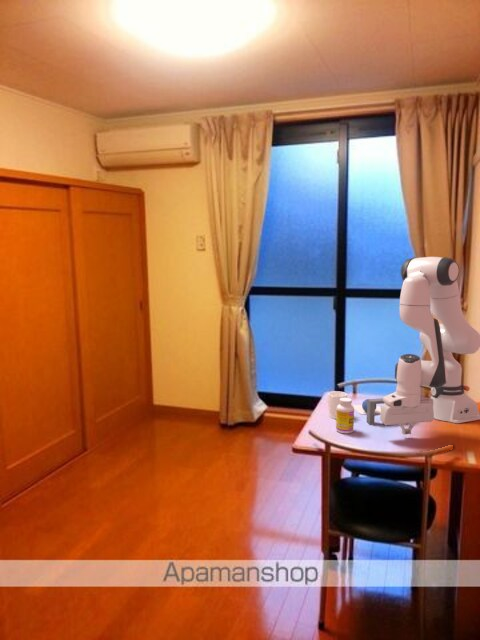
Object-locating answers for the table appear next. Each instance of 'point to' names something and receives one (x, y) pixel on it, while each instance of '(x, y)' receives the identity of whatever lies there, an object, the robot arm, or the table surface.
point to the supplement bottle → (345, 416)
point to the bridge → (372, 409)
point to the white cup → (334, 402)
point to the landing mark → (362, 412)
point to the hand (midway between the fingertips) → (406, 433)
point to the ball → (364, 405)
